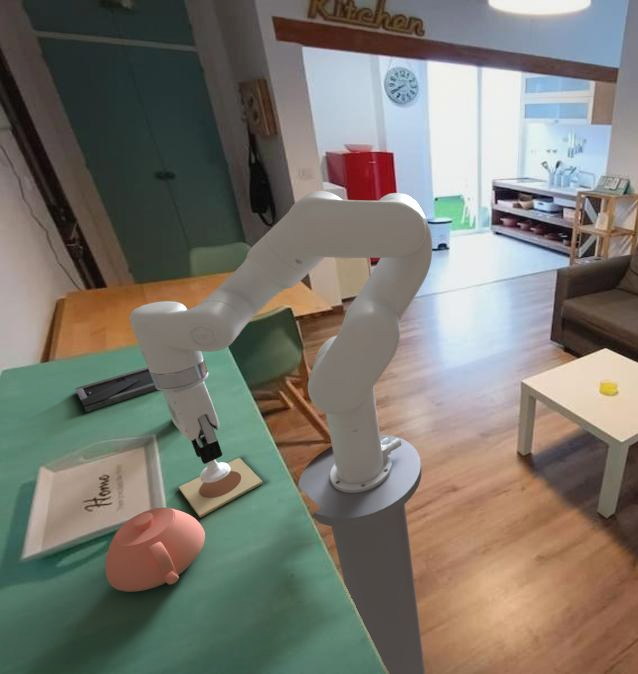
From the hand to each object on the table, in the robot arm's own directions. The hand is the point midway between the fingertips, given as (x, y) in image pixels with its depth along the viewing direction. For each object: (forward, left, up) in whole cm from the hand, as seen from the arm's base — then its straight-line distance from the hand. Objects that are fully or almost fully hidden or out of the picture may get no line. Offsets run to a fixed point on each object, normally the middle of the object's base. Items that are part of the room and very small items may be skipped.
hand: (209, 455), depth 80 cm
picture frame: (+2, -59, -8) cm, 60 cm away
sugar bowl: (+12, +12, -8) cm, 19 cm away
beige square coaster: (0, 0, -8) cm, 8 cm away
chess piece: (0, 0, -5) cm, 5 cm away
